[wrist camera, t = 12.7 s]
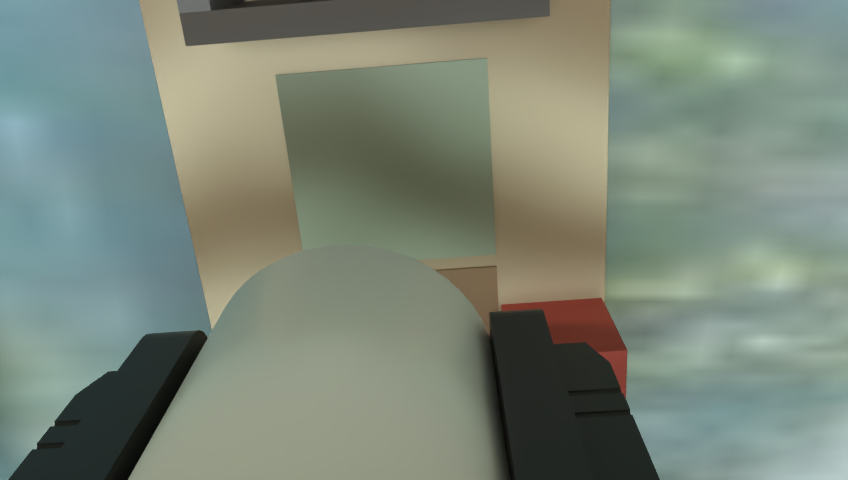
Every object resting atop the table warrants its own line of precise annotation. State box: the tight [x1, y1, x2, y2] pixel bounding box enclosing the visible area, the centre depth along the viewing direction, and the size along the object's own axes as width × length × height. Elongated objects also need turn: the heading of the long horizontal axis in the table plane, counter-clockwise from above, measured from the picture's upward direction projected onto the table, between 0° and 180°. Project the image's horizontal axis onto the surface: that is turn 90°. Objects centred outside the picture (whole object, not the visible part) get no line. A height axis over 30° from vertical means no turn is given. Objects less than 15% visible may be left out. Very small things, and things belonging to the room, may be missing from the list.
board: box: [139, 0, 627, 399], centre depth 20 cm, size 28×12×5 cm, turn 5°
